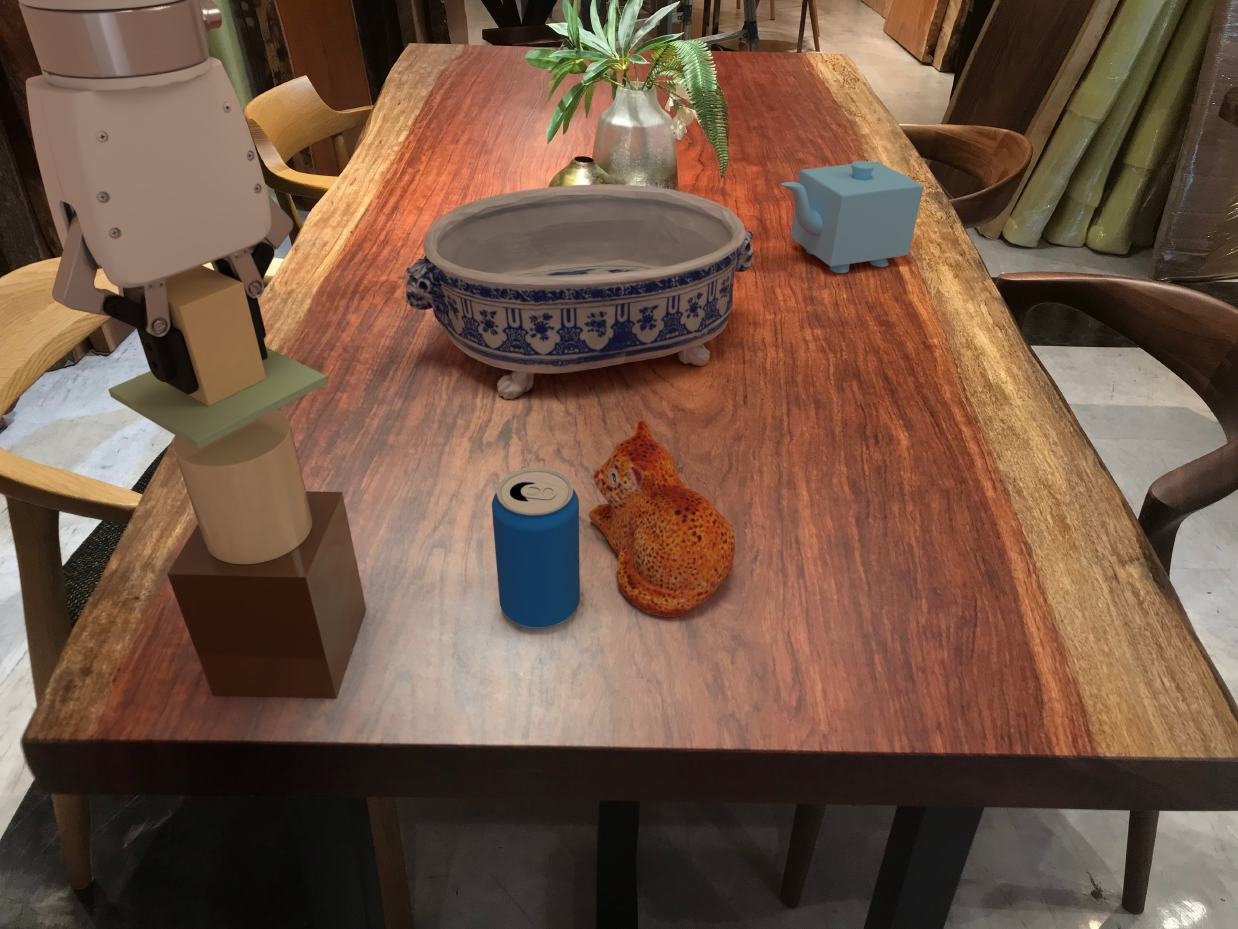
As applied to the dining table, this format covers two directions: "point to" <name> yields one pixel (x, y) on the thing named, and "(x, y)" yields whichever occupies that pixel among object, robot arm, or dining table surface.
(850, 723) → the dining table surface
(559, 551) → the beverage can
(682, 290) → the decorative bowl
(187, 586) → the cylinder on cube
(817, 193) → the teapot
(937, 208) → the dining table surface
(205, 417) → the block on board
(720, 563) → the figurine
